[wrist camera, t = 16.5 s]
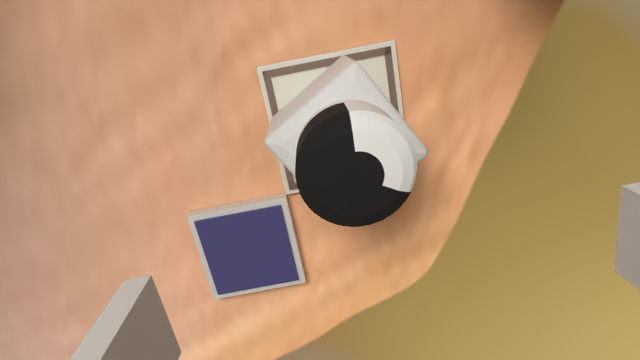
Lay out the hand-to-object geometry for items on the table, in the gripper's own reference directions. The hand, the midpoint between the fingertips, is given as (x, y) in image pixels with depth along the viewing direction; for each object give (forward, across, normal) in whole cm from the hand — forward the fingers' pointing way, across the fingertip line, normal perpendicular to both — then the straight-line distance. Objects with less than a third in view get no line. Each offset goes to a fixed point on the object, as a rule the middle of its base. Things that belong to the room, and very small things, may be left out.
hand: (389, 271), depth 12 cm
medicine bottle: (+20, 0, 0) cm, 21 cm away
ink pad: (+21, -9, -9) cm, 24 cm away
